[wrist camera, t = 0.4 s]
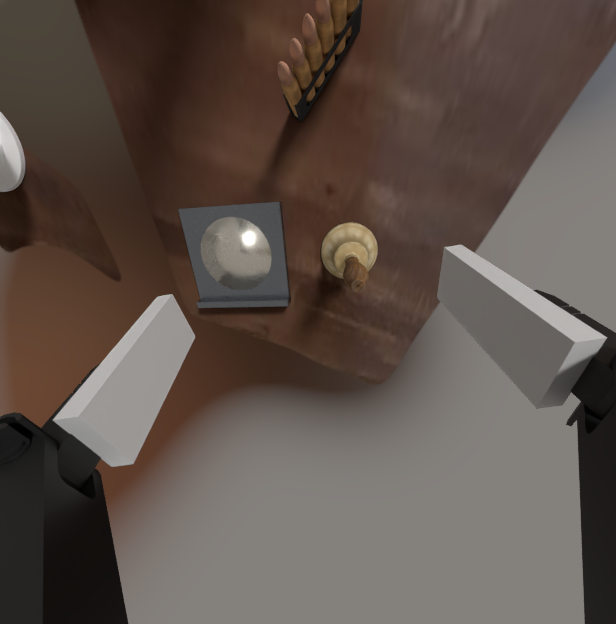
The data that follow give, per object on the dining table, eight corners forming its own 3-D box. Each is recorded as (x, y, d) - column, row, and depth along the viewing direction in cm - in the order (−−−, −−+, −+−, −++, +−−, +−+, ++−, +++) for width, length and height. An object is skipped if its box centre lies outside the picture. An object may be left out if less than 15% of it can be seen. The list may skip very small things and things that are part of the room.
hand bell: (384, 227, 36) (414, 246, 22) (369, 282, 40) (388, 331, 25) (326, 218, 36) (318, 231, 22) (317, 274, 40) (305, 316, 25)
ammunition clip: (301, 122, 32) (282, 83, 21) (289, 111, 32) (264, 66, 21) (360, 29, 28) (374, -78, 17) (348, 15, 28) (354, -102, 17)
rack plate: (182, 208, 38) (172, 209, 36) (281, 201, 36) (277, 201, 34) (205, 302, 44) (198, 308, 42) (290, 300, 42) (288, 306, 40)
